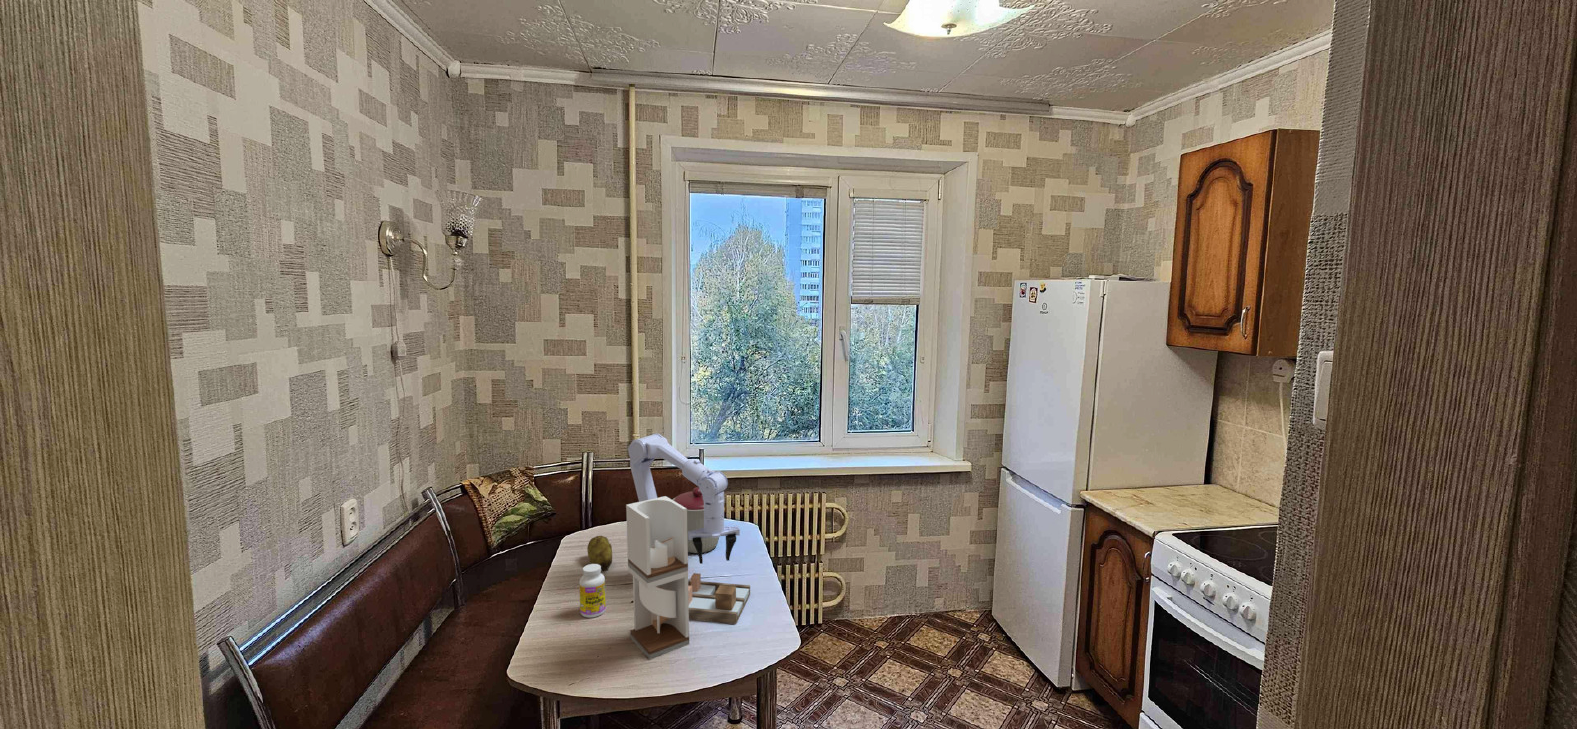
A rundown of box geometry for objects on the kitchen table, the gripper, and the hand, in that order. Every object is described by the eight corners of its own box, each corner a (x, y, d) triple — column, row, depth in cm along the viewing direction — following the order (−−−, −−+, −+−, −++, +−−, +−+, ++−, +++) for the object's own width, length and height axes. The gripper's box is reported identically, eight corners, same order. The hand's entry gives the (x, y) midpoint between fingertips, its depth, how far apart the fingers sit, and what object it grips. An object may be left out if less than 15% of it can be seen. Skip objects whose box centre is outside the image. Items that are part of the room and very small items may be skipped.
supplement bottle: (582, 621, 163) (580, 575, 162) (578, 609, 169) (576, 565, 168) (608, 615, 167) (606, 570, 165) (603, 604, 172) (601, 560, 171)
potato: (584, 574, 190) (583, 549, 189) (589, 556, 203) (588, 533, 202) (611, 572, 192) (611, 547, 191) (615, 554, 204) (614, 531, 203)
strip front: (680, 611, 166) (679, 592, 166) (686, 601, 172) (686, 583, 171) (737, 616, 163) (737, 598, 163) (742, 606, 169) (742, 588, 168)
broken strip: (689, 598, 174) (689, 580, 173) (695, 589, 179) (695, 571, 178) (744, 603, 171) (744, 584, 170) (749, 593, 176) (748, 575, 176)
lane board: (657, 616, 166) (656, 606, 166) (677, 588, 182) (677, 579, 181) (736, 624, 162) (736, 614, 162) (750, 594, 178) (750, 585, 178)
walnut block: (715, 609, 165) (715, 593, 164) (720, 600, 169) (720, 585, 169) (731, 610, 164) (731, 594, 164) (736, 602, 169) (735, 586, 168)
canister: (735, 544, 213) (735, 485, 211) (701, 563, 198) (700, 500, 195) (695, 533, 223) (695, 476, 220) (660, 550, 208) (659, 490, 205)
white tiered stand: (630, 638, 156) (626, 504, 151) (668, 624, 162) (665, 496, 158) (649, 659, 147) (645, 518, 142) (689, 644, 153) (686, 508, 149)
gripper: (689, 522, 169) (690, 569, 171) (741, 518, 173) (741, 564, 175) (687, 513, 176) (687, 559, 178) (737, 509, 180) (737, 553, 181)
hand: (714, 560), depth 177 cm, fingers open, 7 cm apart
